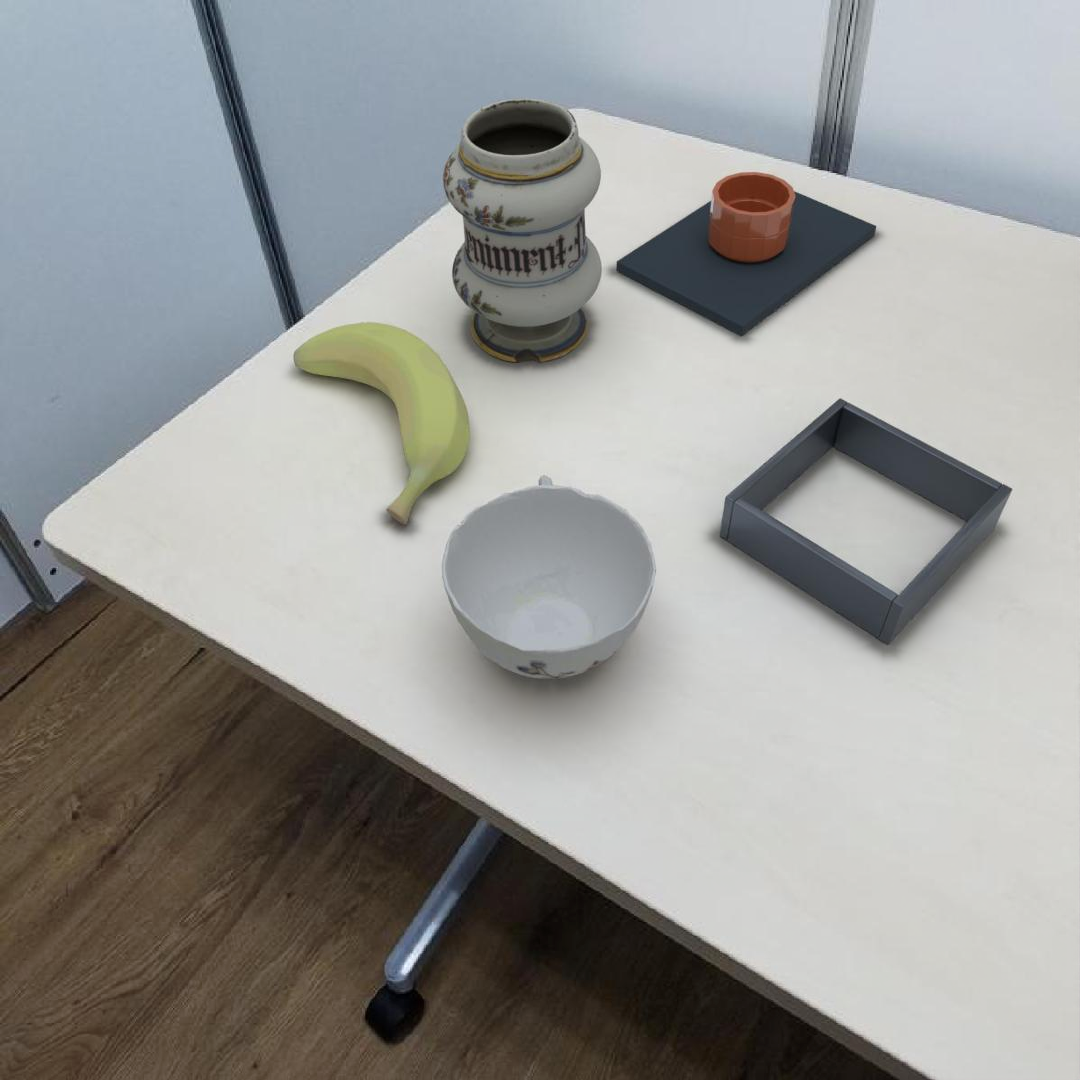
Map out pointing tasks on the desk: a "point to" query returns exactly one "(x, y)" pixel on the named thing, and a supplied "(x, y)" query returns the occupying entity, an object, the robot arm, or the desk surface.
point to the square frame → (896, 460)
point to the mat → (744, 264)
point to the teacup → (548, 579)
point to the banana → (400, 396)
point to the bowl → (750, 216)
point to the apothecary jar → (524, 228)
